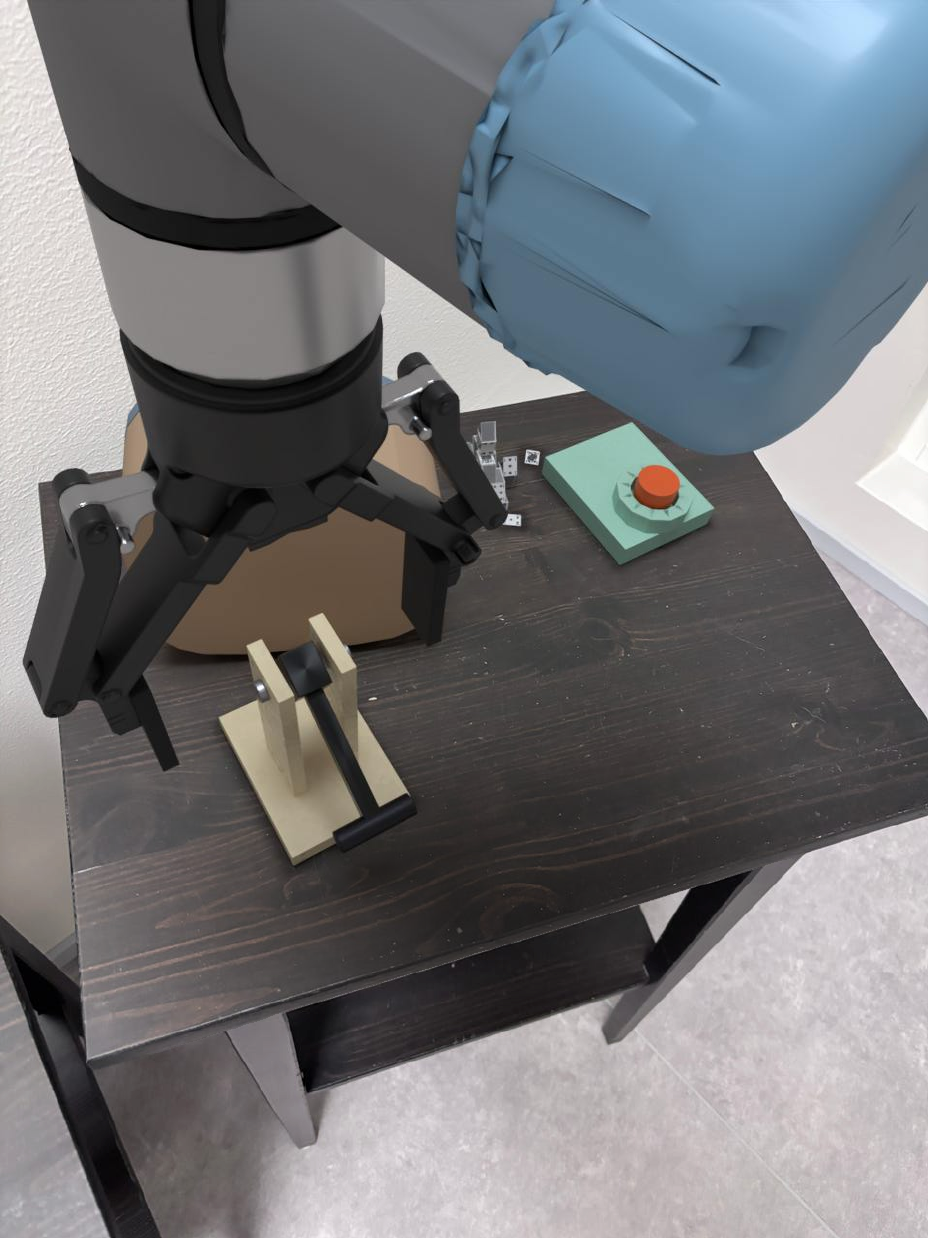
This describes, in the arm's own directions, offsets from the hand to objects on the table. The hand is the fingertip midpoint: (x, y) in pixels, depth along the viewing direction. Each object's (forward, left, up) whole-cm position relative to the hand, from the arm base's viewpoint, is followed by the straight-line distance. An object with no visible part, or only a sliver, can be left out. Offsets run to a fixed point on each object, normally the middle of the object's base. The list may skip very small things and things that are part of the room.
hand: (297, 681), depth 44 cm
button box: (+16, -39, -23) cm, 47 cm away
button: (+13, -39, -19) cm, 45 cm away
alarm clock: (+19, -8, -23) cm, 31 cm away
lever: (+2, -3, -13) cm, 13 cm away
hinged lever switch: (+6, -3, -23) cm, 23 cm away
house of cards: (+22, -30, -23) cm, 43 cm away
